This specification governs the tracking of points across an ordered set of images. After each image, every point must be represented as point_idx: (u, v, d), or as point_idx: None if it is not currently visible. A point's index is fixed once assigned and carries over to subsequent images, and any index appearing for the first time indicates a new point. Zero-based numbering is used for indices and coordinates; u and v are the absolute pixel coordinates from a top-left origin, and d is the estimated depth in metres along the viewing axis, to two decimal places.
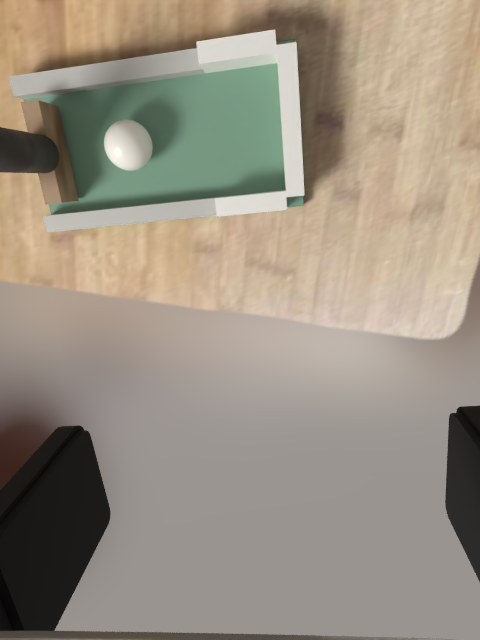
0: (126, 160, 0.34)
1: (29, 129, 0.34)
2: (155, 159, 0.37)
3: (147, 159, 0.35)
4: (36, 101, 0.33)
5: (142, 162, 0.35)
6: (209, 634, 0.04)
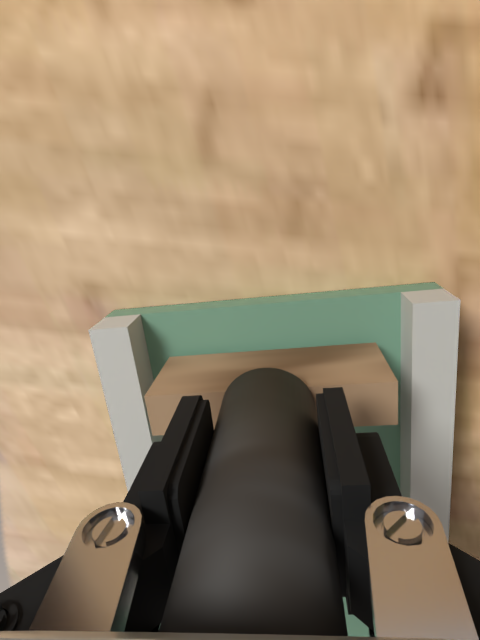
0: None
1: None
2: None
3: None
4: (395, 420, 0.13)
5: None
6: (209, 634, 0.04)
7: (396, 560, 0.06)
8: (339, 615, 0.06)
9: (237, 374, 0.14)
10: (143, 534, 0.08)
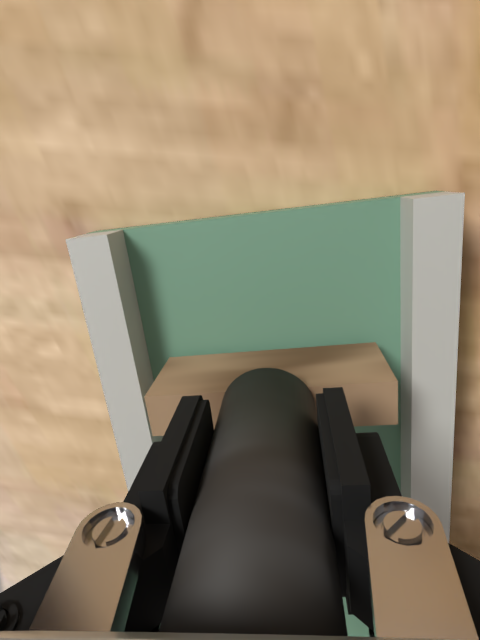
0: None
1: None
2: None
3: None
4: (395, 420, 0.13)
5: None
6: (209, 634, 0.04)
7: (396, 560, 0.06)
8: (339, 615, 0.06)
9: (237, 375, 0.14)
10: (143, 534, 0.08)
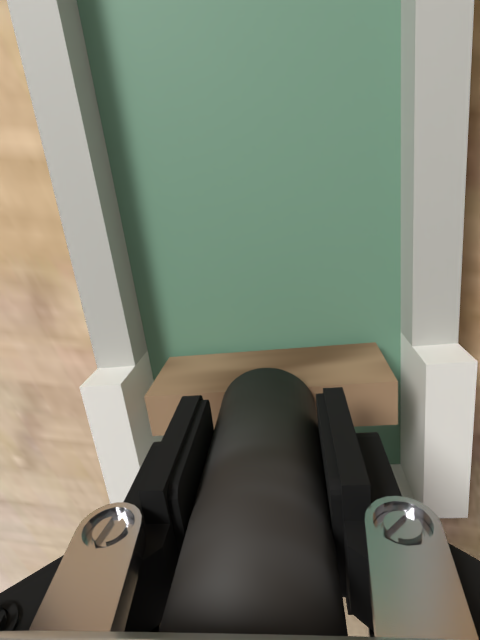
0: None
1: None
2: (221, 202, 0.15)
3: None
4: (395, 420, 0.13)
5: None
6: (209, 634, 0.04)
7: (396, 560, 0.06)
8: (339, 615, 0.06)
9: (237, 375, 0.14)
10: (143, 534, 0.08)
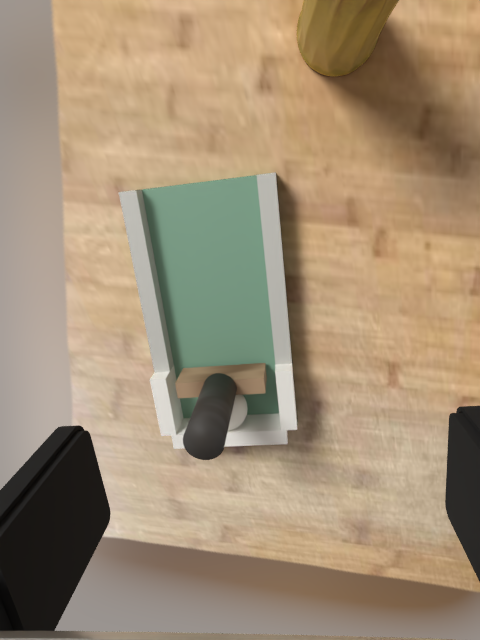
0: None
1: (241, 381, 0.36)
2: (203, 308, 0.38)
3: None
4: (264, 391, 0.37)
5: None
6: (209, 634, 0.04)
7: None
8: (223, 426, 0.30)
9: (209, 375, 0.38)
10: None
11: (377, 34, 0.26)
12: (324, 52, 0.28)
